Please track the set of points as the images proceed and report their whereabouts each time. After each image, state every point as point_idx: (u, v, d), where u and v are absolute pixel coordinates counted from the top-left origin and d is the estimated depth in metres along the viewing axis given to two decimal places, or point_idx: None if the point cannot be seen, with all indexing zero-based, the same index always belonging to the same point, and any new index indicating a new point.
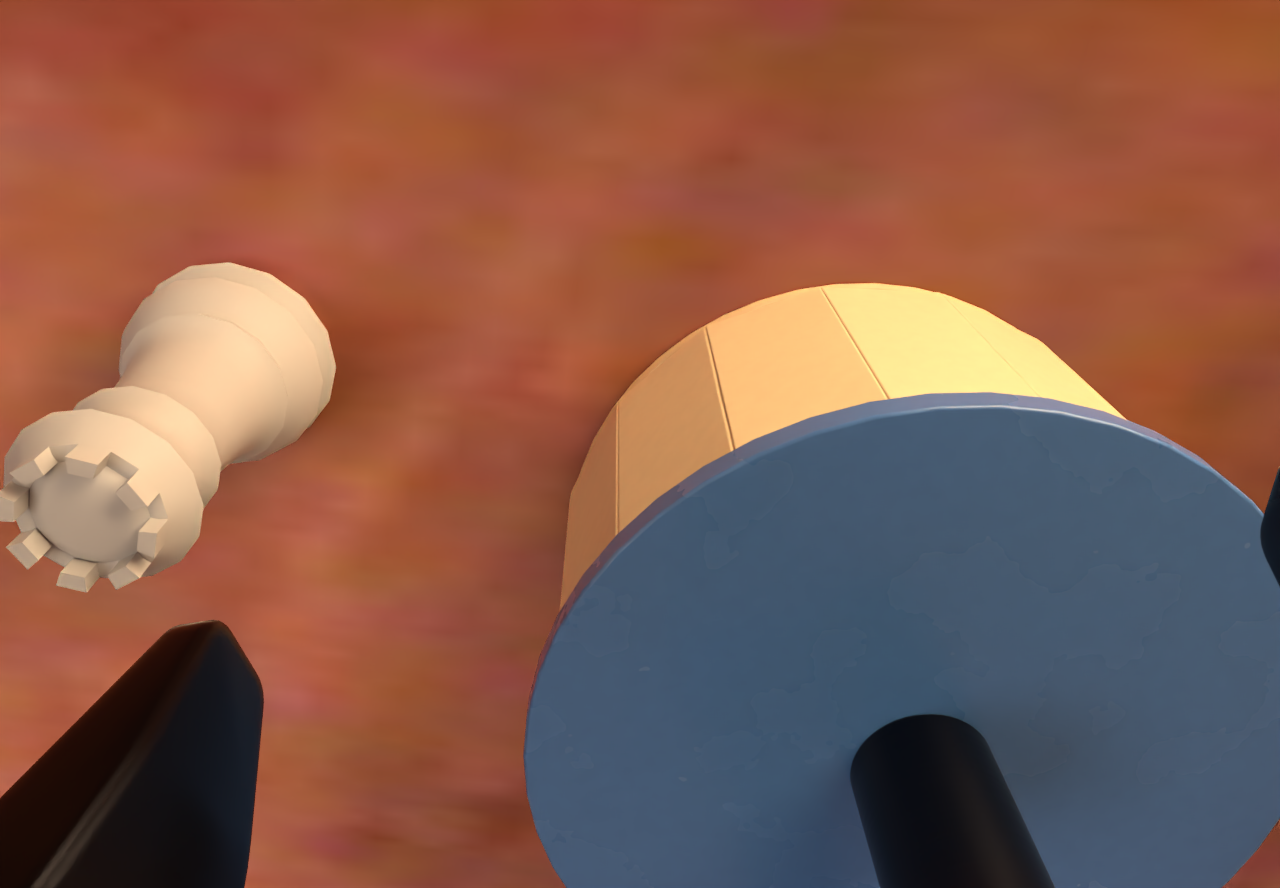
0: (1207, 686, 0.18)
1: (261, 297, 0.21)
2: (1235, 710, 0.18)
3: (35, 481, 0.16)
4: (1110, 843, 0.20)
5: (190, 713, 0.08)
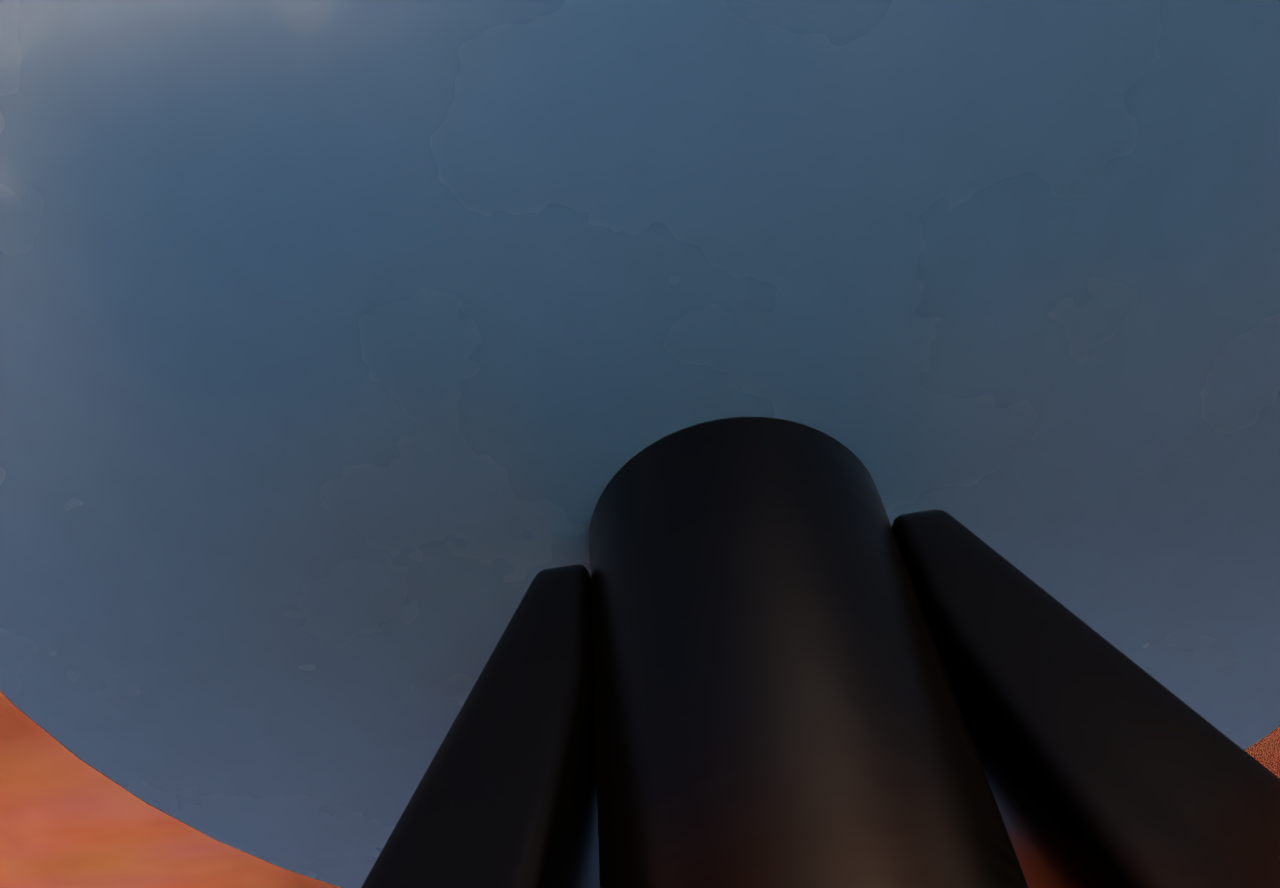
0: None
1: None
2: None
3: None
4: (1187, 561, 0.10)
5: (590, 653, 0.08)
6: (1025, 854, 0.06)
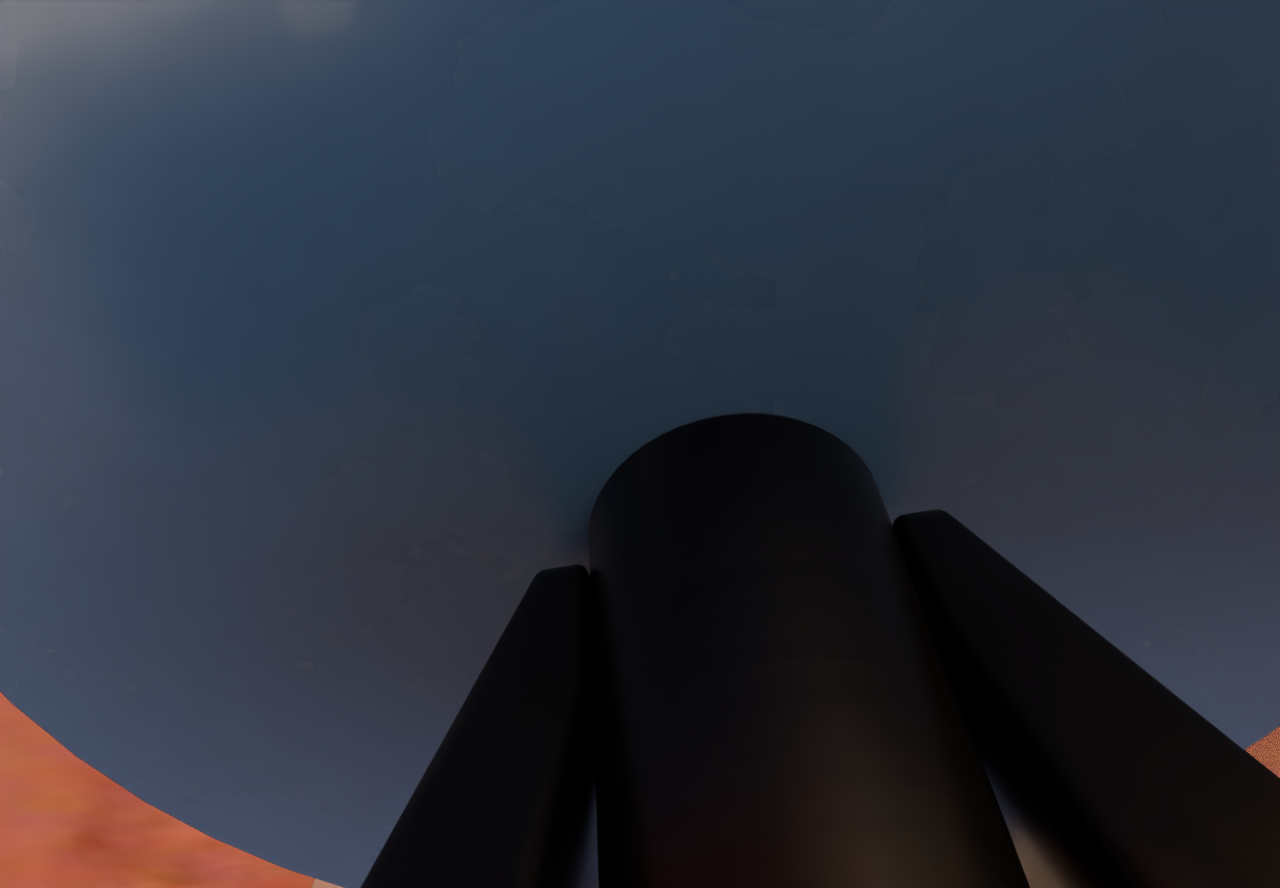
0: None
1: None
2: None
3: None
4: (1188, 559, 0.10)
5: (589, 654, 0.08)
6: (1025, 853, 0.06)
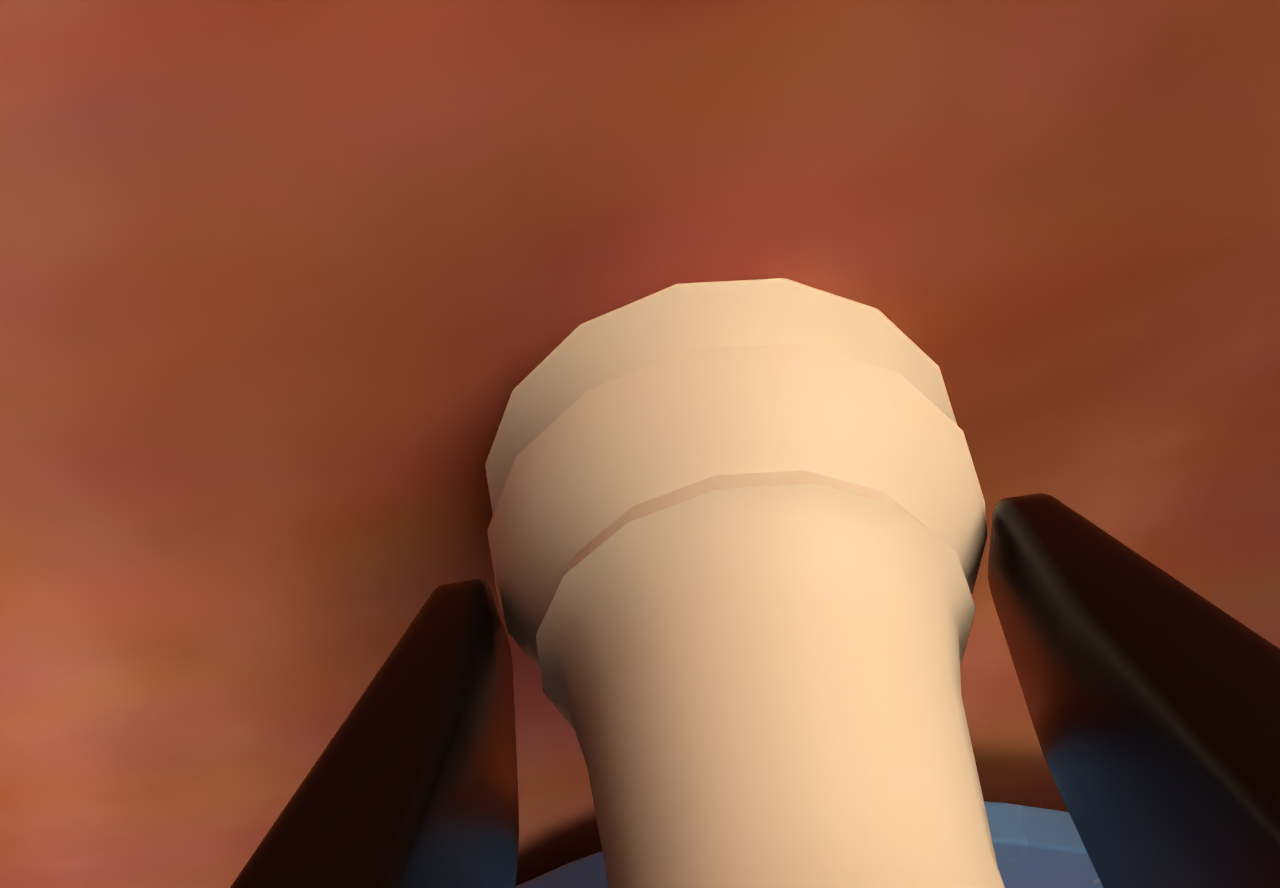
0: None
1: (827, 363, 0.07)
2: None
3: None
4: None
5: (479, 670, 0.08)
6: (1157, 836, 0.06)
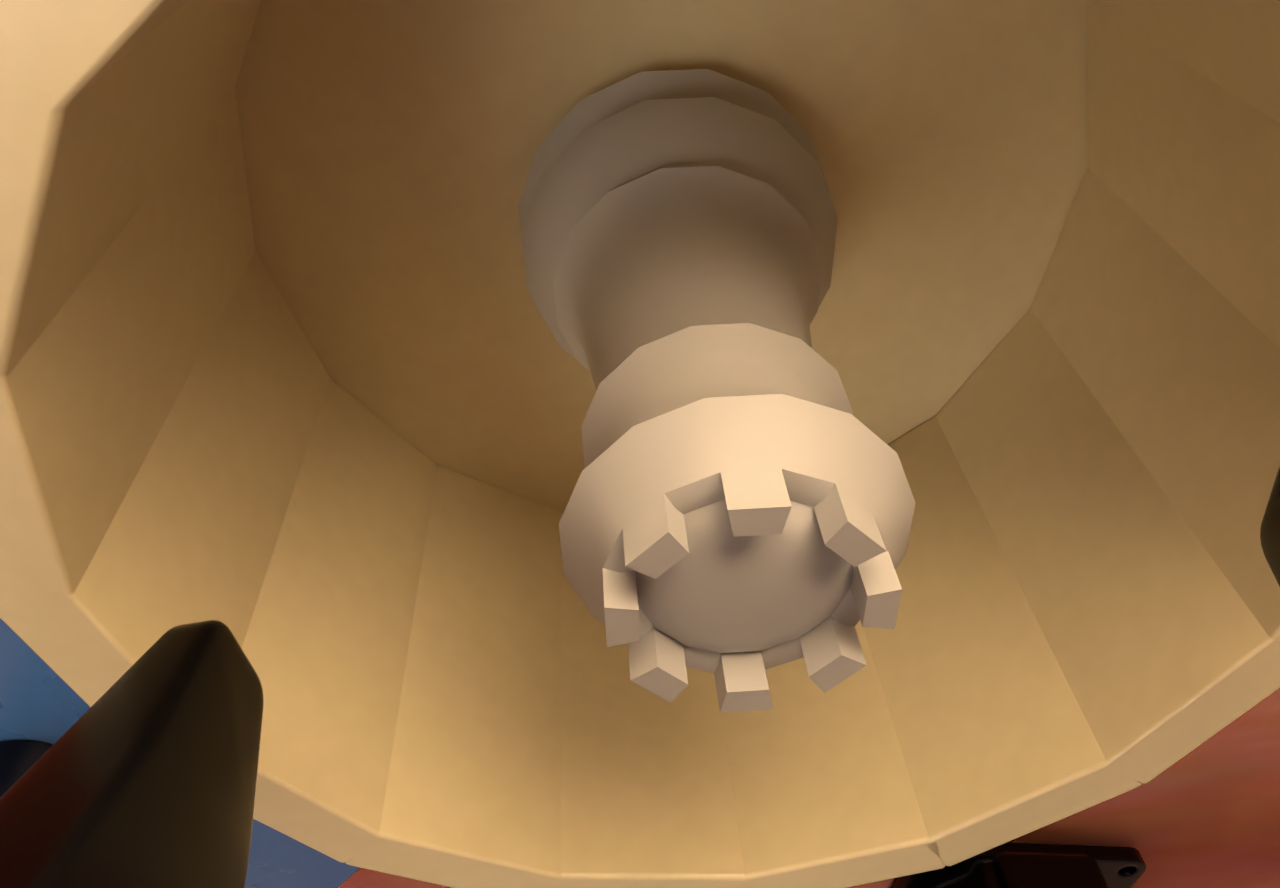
0: None
1: (729, 109, 0.12)
2: None
3: None
4: None
5: (190, 713, 0.08)
6: None
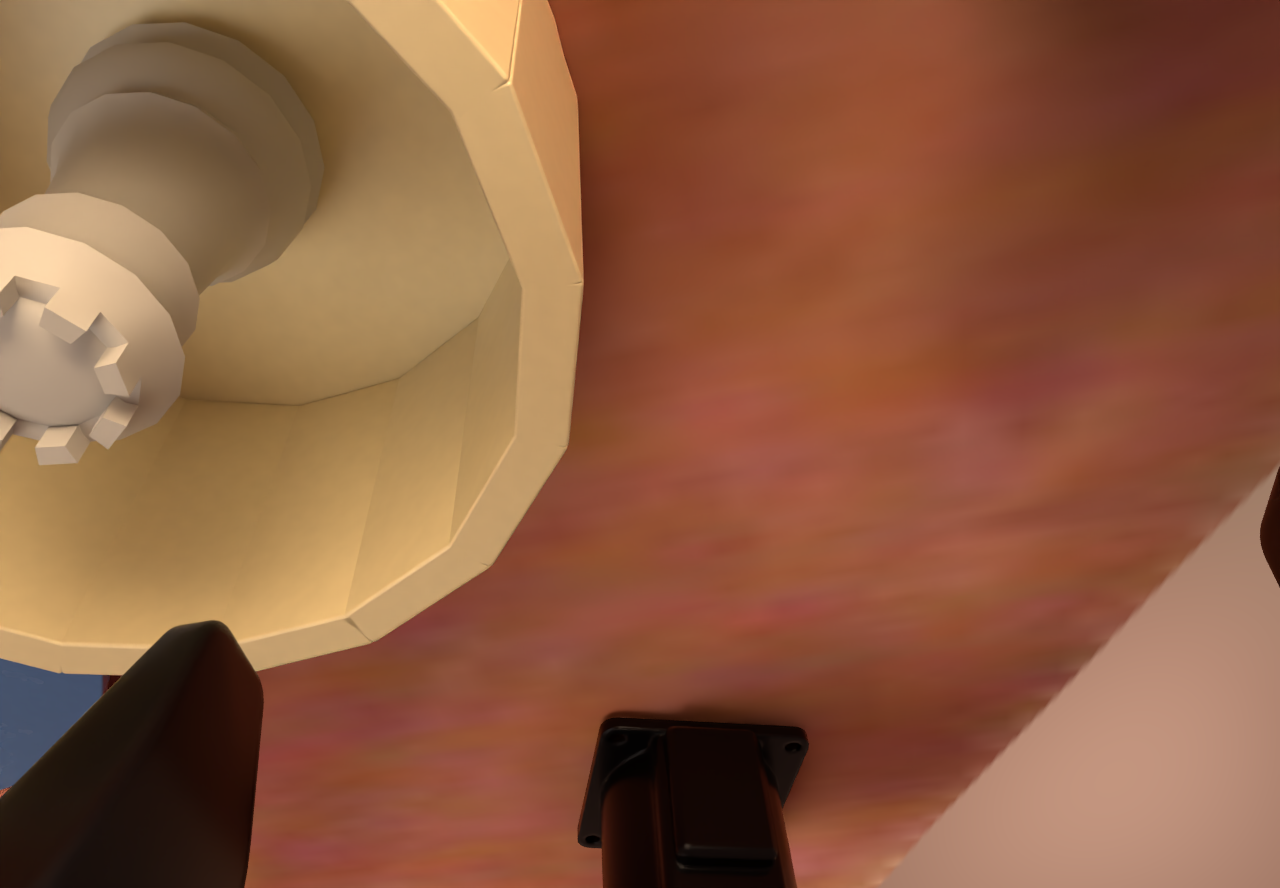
0: None
1: (179, 51, 0.16)
2: None
3: None
4: None
5: (190, 714, 0.08)
6: None
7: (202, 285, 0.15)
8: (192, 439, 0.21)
